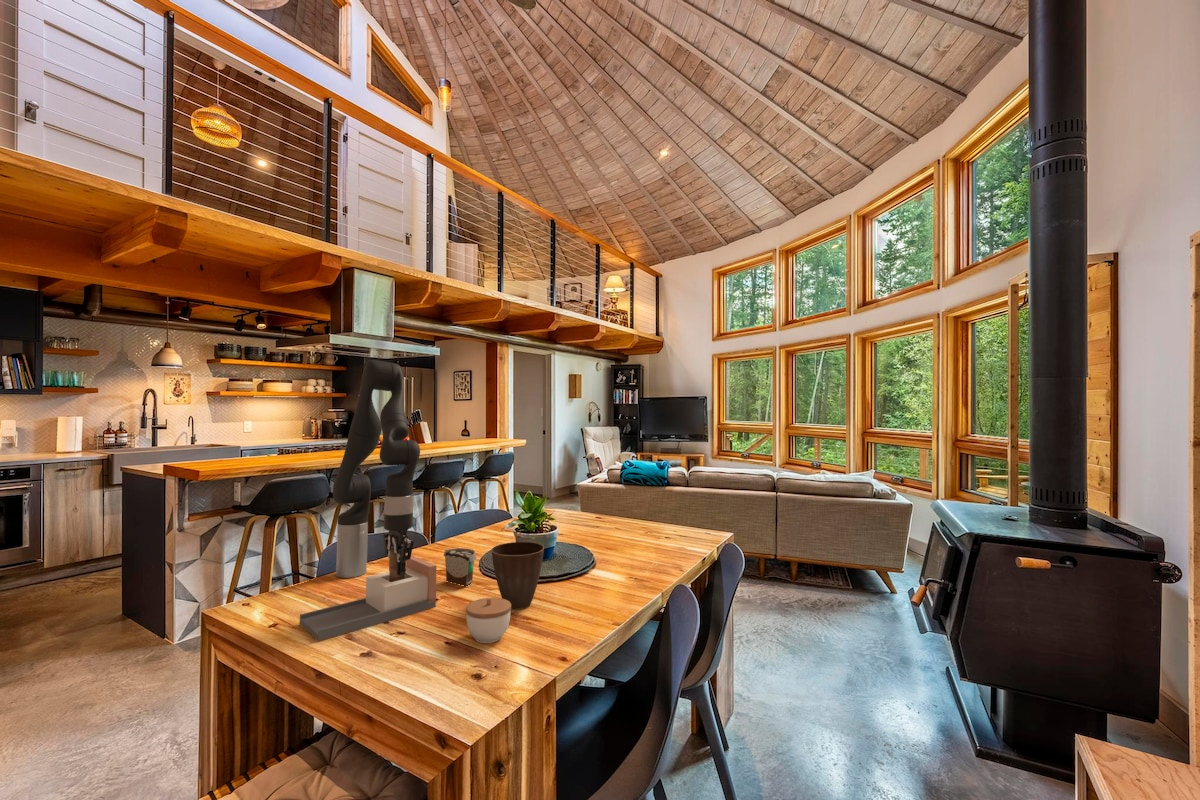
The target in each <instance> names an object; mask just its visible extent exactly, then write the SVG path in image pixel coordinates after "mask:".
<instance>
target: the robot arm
mask: <svg viewBox="0 0 1200 800" xmlns="http://www.w3.org/2000/svg"><path fill="white" fill-rule="evenodd" d="M404 388H405V387H404V374H403V370H402V367H401V366H400V365H399V364H398V363H394V362H390V361H389V362H388V361H382V360H375V359H369V360H367V361H366V363H365V366H364V368H363V372H362V377H361V381H360V388H359V394H358V399H357V404H356V407H355V410H354V415H353V418H352V421H351V425H350V429H349V431H348V437H347V440H346V446H345V448H344V449H345V450H344V454H343V457H342V460H341V463H340V466H339V468H338V471H337V474H336V476H335V479H334V481H333V487H332V498H333V499H332V500H334V502H335V503H336V504H340V505H341V504H351V503H353V505H352V506H351V507H350V508H348V509H347V510H345V511H344V512H342V513H340V514H339V515H338V516H337V527H336V528H337V531H336V534H337V535H336V565H335V567H336V568H335V570H336V571H335V576H336V577H338V578H346V579H348V578H357V577H360V576H363V575H365V574H367V568H368V567H367V563H368V535H369V534H368V532H369V531H368V530H369V529H368V528H369V526H368V523H369V514H370V507H371V506H370V505H371V495H372V484H371V483H372V482H371V480H370V478H369V476H368V475H367V474H355V473H356V472H357V469H358V468H359V466H361V464H362V463H363V462H364V461H365V460H366V459H367V458H368V457H370V456H371V454H372V453H373V452H374V451H375V450H376V448H377V447H378V445H379V442H380V438H381V434H382V442H381V445H380V450H379V460H380V461H381V462H382V464H383V465H385V466H404V467H403V469H402V470H401V471H399V472H395V473H391V474H389V475H387V476H386V479H385V497H384V498H385V499H384V503H383V504H384V505H383V507H384V509H383V510H384V511H383V528H384V529H383V530H385V531H388V532H386V533H383V543H384V552H385V555H387V558H388V559H389V563H388V571H389V570H390V549H391V548H394V553H395V554H396V555H397V575H398V576H401V575H404V574H405V573H406V561H407V560H410V558H411V556H412V552H413V548H414V539H409V534H408V531H409V529H411V528H413V524H414V523H413V520H414V499H413V498H414V497H413V487H414V486H413V485H414V483H413V482H414V476H415V472H416V468H417V465H418V461H419V459H420V455H421V448H420V445H419V443H418V442H417V441H416V440H414V439H413V440H412V439H406V438H407V437H408V436H409V425H408V421H407V417H406V412H405V395H404V393H405V391H404ZM374 390H375V391H383V392H384V391H385V392H390V394H391V396H390V397H389V399H388V401H387V402H386V403H385V404H384V406H383V407H382V409H381V411H380V414H379V415H380V416H379V415H378V413H377V411H376V408H375V406H374V405H375V404H374V403H373V392H374ZM404 439H405V440H404ZM401 548H402V550H398V549H401ZM400 553H401V556H400Z"/></svg>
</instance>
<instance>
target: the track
mask: <svg viewBox="0 0 1200 800" xmlns="http://www.w3.org/2000/svg"><path fill="white" fill-rule="evenodd" d="M406 568H410V569H412V570H414V571H416V572H418V573H421V574H423V575H425V576H427V577H428V595H427V600H423V601H419V602H416V603H412V604H409V605H405V606H402V607H398V608H394V609H391V610H387V611H384V612H380V611H378V610H377V609H375V608H374V607H372V606H371V605H369V604H367V603H366V597H364V598H361V599H355V600H351V601H348V602H344V603H340V604H336V605H333V606H329V607H324V608H321V609H316V610H312V611H309V612H308V611H307V612H304V613H300V614H299V625H300V624H301V625H302V626H303V627H304V628H305V629H306V630H307V631H308V632H307V631H306V630H305V629H304V628H303V627H302V626H301V625H300V626H301V627H302V628H303V629H304V630H305V631H306V632H307V633H308V634H310V633H311V634H312V635H313V636H314V637H315V638H316V639H317V640H318V642H322V641H325V640H324V639H326V640H328V638H329V639H332V638H335V636H336V637H338V635H339V636H342V635H341V634H343V635H346V634H348V633H351V632H356V631H359V630H362V629H363V630H364V629H367V628H369V627H373V626H375V625H380V624H383V623H386V622H389V621H392V620H396V619H399V618H402V617H406V616H409V615H412V614H416V613H421V612H422V611H426V610H431V609H433V607H434V608H436V606H437V605H436V603H437V602H436V599H437V565H436V564H434V563H431V562H430V561H429V562H428V561H426V560H424V559H421V558H419V557H416V556H415V555H411V558H410V560H407V561H406ZM345 633H346V634H345ZM311 634H310V635H311ZM312 635H311V636H312ZM313 636H312V637H313ZM314 637H313V638H314ZM315 638H314V639H315ZM316 639H315V640H316ZM317 640H316V641H317ZM321 640H322V641H321Z"/></svg>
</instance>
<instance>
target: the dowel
mask: <svg viewBox="0 0 1200 800" xmlns="http://www.w3.org/2000/svg"><path fill="white" fill-rule="evenodd" d="M398 550H402V548H401V549H398ZM400 556H401V553H400ZM389 559H390V570H389V569H388V572H389V581H390V582H394V581H398V580H402V579H405V574H404V575H401V576H398V575H397V555H396V554H395V553H394V548H391V549H390V558H389Z"/></svg>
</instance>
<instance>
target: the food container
mask: <svg viewBox="0 0 1200 800" xmlns="http://www.w3.org/2000/svg"><path fill="white" fill-rule="evenodd" d="M475 551H476V550H474V549H471V548H463V547H461V548H450V549H449V548H448V549H445V550H444V553H443V557H444V560H445V564H444V565H445V582H446V581H448V582H447V583H449V582H452V583H456V584H460V585H464V586H468V585H470V584H471V583H472V584H473V577H474V576H473V575H474V568H475V567H474V566H475V561H477V554H476V552H475ZM452 583H451V584H452ZM456 584H455V585H456ZM472 584H471V585H472ZM471 585H470V586H471Z"/></svg>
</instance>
